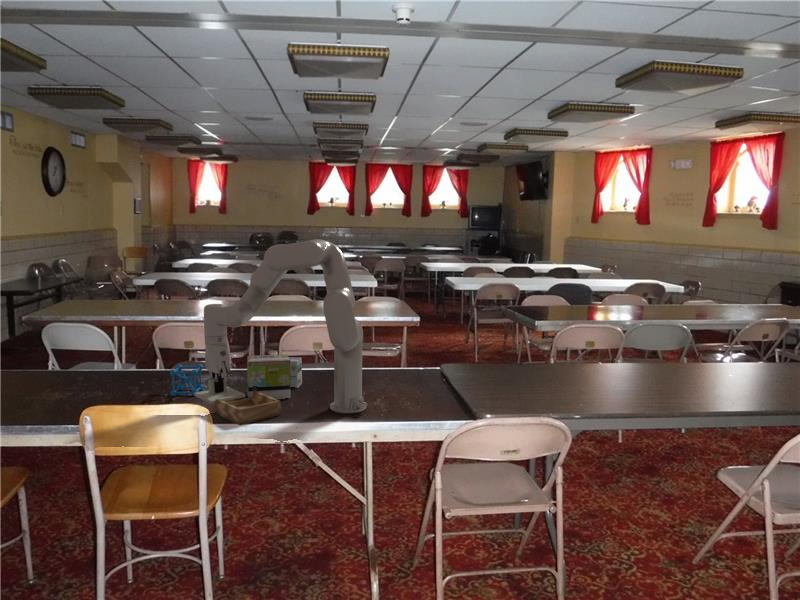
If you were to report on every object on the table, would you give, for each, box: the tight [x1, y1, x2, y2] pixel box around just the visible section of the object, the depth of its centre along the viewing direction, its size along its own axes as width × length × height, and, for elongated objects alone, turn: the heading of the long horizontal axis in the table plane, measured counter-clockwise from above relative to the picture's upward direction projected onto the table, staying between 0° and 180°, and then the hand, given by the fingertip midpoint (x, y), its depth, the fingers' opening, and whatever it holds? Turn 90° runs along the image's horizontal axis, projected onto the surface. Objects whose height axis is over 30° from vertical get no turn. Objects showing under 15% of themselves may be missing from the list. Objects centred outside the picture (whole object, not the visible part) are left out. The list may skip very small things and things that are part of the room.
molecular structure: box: [169, 363, 205, 397], centre depth 228 cm, size 10×10×10 cm
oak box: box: [215, 391, 282, 426], centre depth 205 cm, size 16×15×5 cm
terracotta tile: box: [194, 400, 234, 414], centre depth 214 cm, size 12×12×1 cm
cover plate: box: [194, 377, 246, 404], centre depth 213 cm, size 13×12×6 cm
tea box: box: [246, 354, 291, 400], centre depth 224 cm, size 15×10×15 cm
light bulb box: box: [288, 356, 303, 389], centre depth 239 cm, size 11×7×11 cm, turn 84°
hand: (217, 391), depth 215 cm, fingers closed on cover plate, 1 cm apart
